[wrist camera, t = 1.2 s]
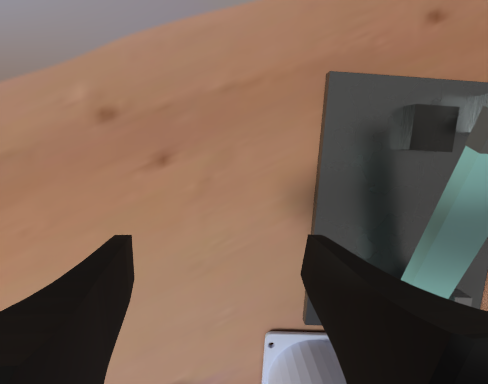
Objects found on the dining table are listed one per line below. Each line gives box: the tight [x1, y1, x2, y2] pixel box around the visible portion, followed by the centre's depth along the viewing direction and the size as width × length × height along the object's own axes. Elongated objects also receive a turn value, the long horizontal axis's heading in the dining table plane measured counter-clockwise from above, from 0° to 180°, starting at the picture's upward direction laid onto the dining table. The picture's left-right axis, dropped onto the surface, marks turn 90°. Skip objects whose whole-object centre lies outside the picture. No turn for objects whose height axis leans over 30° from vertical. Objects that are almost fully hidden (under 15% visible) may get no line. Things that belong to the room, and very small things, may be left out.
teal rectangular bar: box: [401, 106, 488, 299], centre depth 18 cm, size 15×3×2 cm, turn 177°
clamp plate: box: [303, 71, 488, 325], centre depth 20 cm, size 19×14×6 cm
